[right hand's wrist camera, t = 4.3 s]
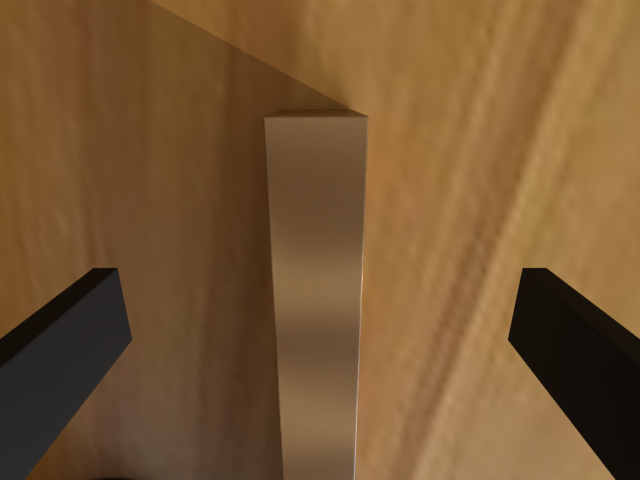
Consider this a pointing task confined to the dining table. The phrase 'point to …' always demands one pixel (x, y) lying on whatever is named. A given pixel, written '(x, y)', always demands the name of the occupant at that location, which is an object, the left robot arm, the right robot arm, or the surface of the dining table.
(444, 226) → the dining table surface
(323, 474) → the beam
